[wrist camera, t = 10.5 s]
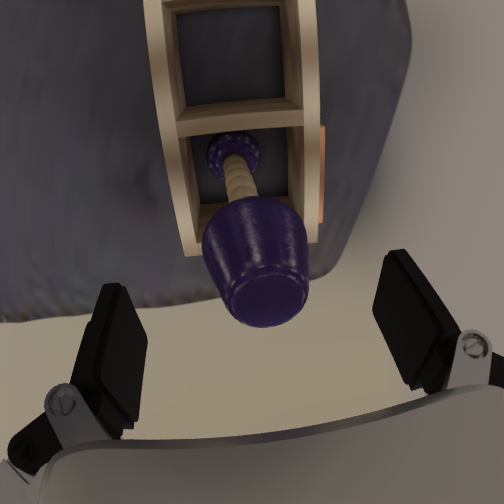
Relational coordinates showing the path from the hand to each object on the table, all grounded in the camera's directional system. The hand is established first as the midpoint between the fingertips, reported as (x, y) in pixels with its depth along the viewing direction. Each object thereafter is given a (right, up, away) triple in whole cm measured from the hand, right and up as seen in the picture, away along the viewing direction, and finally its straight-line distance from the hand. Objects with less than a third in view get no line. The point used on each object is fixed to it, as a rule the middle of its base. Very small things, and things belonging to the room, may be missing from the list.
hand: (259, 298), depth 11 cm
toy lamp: (-1, +9, +14) cm, 17 cm away
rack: (-2, +16, +9) cm, 18 cm away
